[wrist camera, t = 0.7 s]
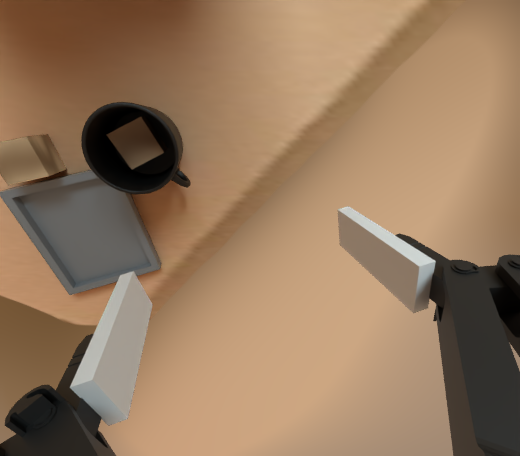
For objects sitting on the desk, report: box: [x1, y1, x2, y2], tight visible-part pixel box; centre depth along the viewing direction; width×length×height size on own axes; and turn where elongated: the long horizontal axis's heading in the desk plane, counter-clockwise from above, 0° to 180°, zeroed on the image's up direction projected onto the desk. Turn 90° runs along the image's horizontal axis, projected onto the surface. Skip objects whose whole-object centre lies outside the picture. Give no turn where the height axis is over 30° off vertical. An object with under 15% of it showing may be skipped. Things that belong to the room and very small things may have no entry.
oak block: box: [0, 134, 66, 185], centre depth 30 cm, size 4×4×4 cm
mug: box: [81, 102, 190, 194], centre depth 31 cm, size 9×12×9 cm
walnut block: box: [107, 117, 168, 169], centre depth 31 cm, size 4×4×4 cm
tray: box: [0, 170, 161, 295], centre depth 36 cm, size 17×14×2 cm
